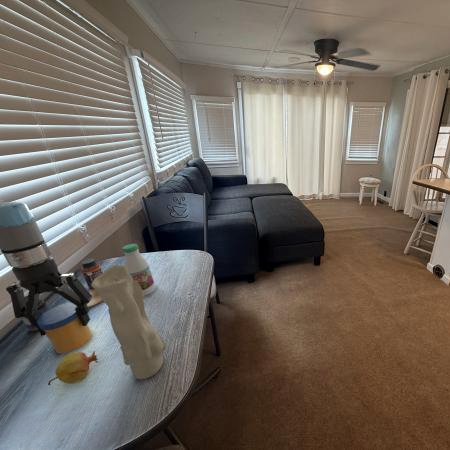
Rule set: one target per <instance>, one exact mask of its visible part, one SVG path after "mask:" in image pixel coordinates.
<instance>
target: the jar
mask: <svg viewBox="0 0 450 450" xmlns="http://www.w3.org/2000/svg"><path fill="white" fill-rule="evenodd" d="M88 324H89V323H88ZM88 324H87V325H86V326H83V325H82V323H81V320H80V318H79V317H78V318H76V319H75V320H74V321H72V322H70V323H69V324H67V325H65V326H62V327H60V328H57V329H53V330H44V332H45V333H46V335H45V336H46V337H47V339H48V340H49V343H50V344H51V346H52V348H53V349H54V351H55V352H56V353H57V354H67V353H71V352H73V351H76V350H78V349H79V348H81V347H83V346H84V345H85V344H86V343H88V342H89V340H90V339H91V338H92V336H93V333H92V331H91V328H90V326H89V325H88Z"/></svg>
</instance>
